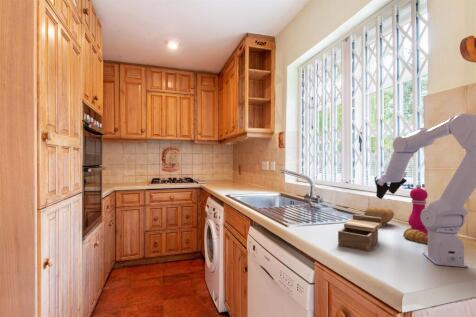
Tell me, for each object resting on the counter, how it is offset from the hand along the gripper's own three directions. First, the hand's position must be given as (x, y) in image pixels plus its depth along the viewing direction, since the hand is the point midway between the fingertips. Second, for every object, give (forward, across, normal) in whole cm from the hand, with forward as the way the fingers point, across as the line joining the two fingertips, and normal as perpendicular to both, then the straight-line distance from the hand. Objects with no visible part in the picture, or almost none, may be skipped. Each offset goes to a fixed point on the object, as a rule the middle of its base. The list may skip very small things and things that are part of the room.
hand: (385, 195), depth 105 cm
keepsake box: (+9, +22, +8) cm, 25 cm away
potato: (+22, -10, -2) cm, 24 cm away
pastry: (+10, -1, +16) cm, 20 cm away
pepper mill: (+14, -11, +13) cm, 22 cm away
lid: (+6, +16, +4) cm, 18 cm away
